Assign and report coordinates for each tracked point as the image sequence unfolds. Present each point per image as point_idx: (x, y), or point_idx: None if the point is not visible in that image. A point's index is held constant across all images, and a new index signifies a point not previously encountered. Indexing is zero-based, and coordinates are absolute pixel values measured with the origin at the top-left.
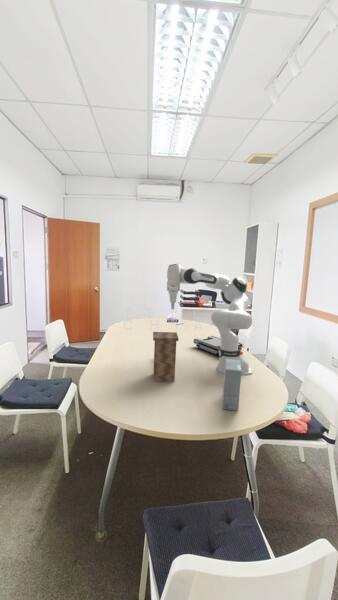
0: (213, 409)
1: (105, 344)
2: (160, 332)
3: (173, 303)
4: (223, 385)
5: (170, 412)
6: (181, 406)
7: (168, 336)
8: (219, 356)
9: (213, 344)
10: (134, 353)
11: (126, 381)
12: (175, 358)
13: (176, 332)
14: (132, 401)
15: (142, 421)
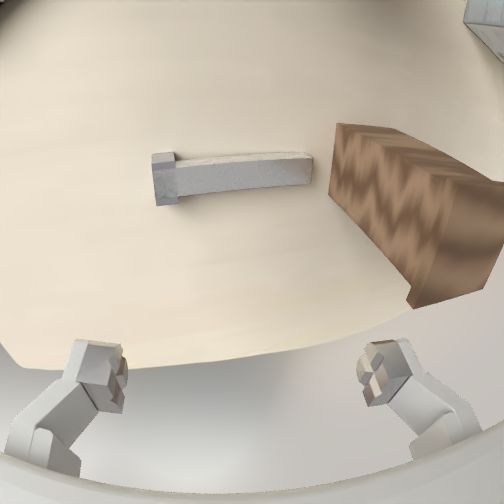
0: (500, 79)
1: None
2: (435, 275)
3: (463, 424)
4: (498, 35)
5: (491, 165)
6: (485, 140)
7: (494, 232)
8: None
9: None
10: (117, 283)
11: (366, 262)
12: (450, 156)
13: (460, 184)
14: None
15: None
